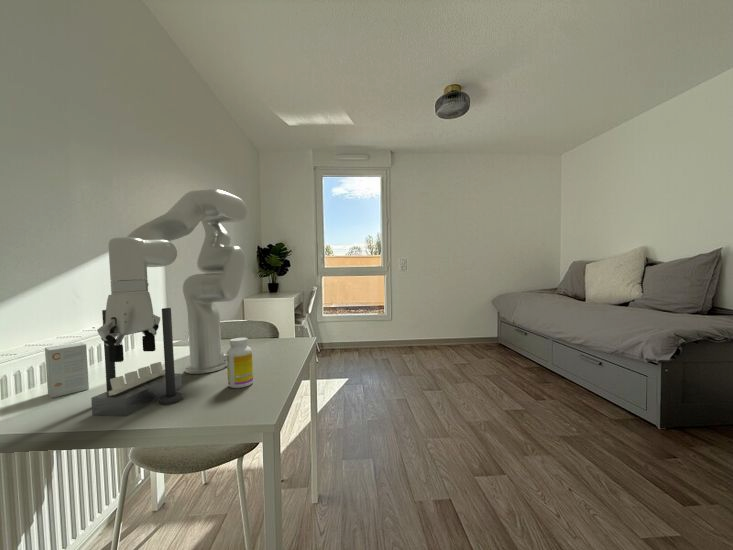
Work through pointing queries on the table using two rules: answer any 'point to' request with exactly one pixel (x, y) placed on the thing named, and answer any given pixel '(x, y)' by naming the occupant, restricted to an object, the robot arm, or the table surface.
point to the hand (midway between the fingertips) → (134, 356)
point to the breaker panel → (132, 397)
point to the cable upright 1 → (108, 361)
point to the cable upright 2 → (169, 361)
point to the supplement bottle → (239, 363)
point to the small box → (66, 369)
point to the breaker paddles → (135, 378)
